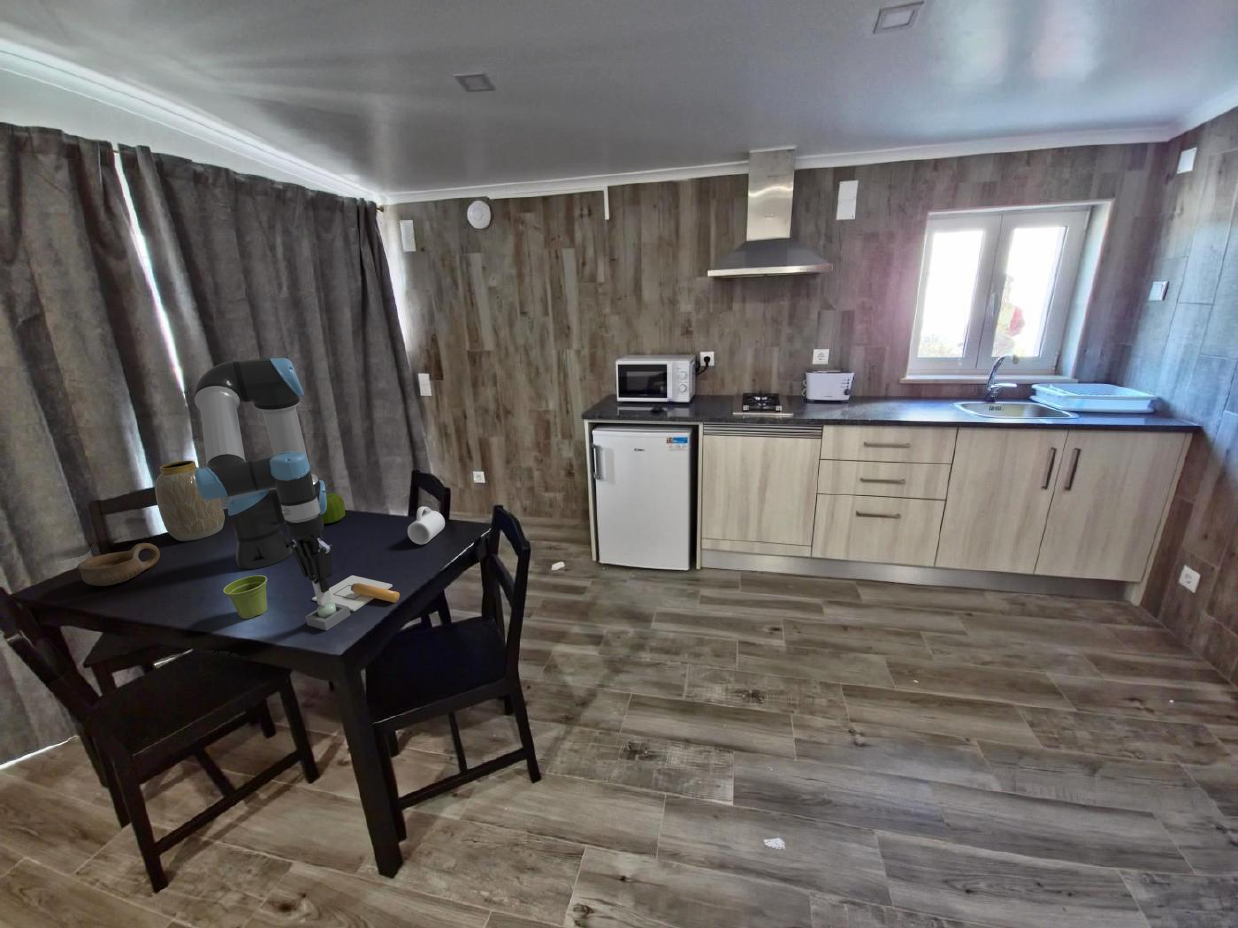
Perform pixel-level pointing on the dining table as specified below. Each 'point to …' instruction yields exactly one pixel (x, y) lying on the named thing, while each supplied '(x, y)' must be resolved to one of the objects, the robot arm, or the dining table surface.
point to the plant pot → (248, 595)
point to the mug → (425, 526)
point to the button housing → (329, 622)
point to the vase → (186, 503)
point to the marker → (375, 592)
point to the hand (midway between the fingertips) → (324, 601)
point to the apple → (333, 509)
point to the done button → (326, 610)
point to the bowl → (117, 566)
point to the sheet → (347, 597)
